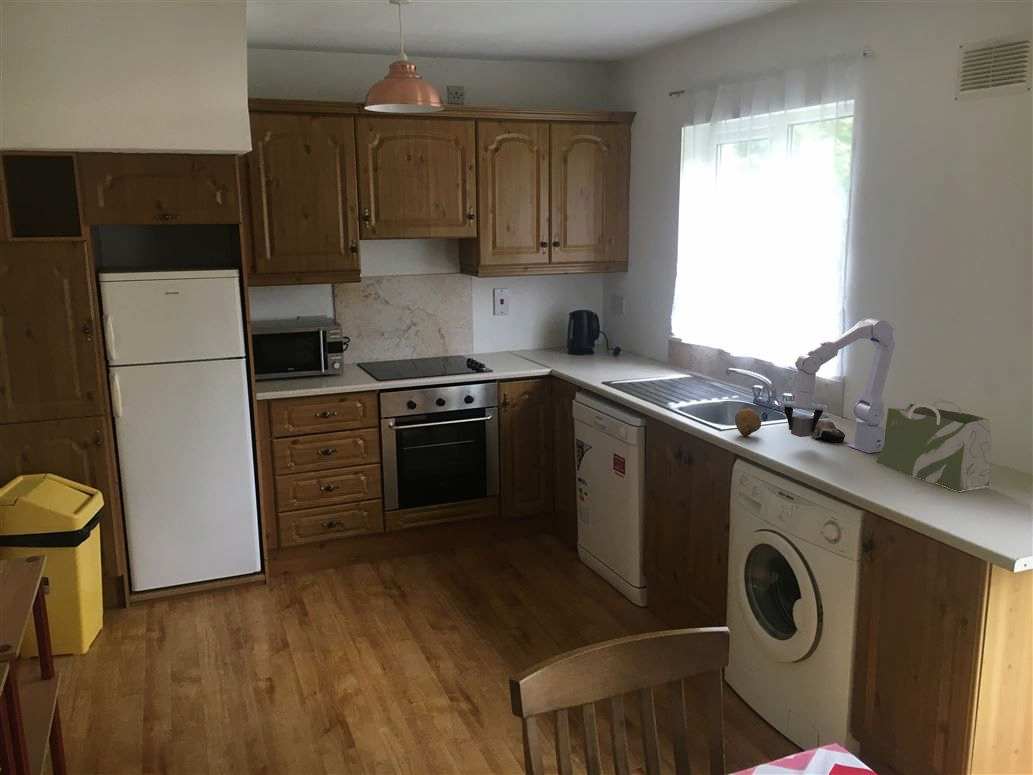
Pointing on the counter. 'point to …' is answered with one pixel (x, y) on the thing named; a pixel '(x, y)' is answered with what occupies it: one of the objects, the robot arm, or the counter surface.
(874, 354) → the robot arm
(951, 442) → the grocery bag
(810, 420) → the stepped grey block
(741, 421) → the natural sponge
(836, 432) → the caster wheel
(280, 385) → the counter surface
